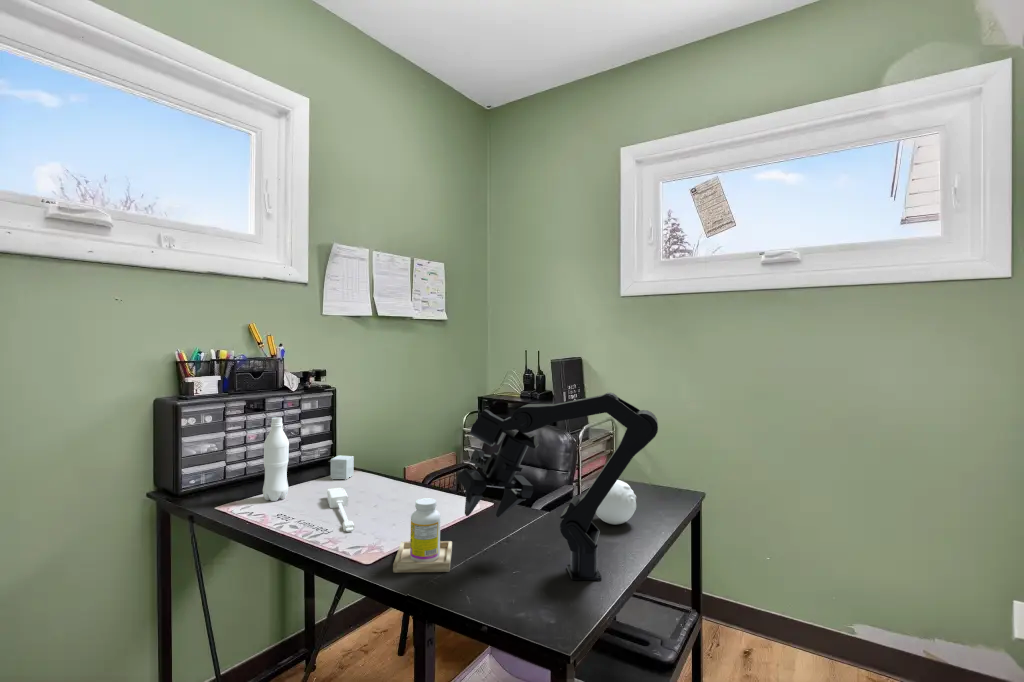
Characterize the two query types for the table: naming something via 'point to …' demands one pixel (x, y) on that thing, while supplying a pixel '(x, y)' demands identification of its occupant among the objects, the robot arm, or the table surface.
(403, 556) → the tray
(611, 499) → the decorative ball
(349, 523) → the white toy mallet
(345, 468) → the product box
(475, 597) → the table surface
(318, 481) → the table surface
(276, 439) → the water bottle
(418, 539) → the supplement bottle
